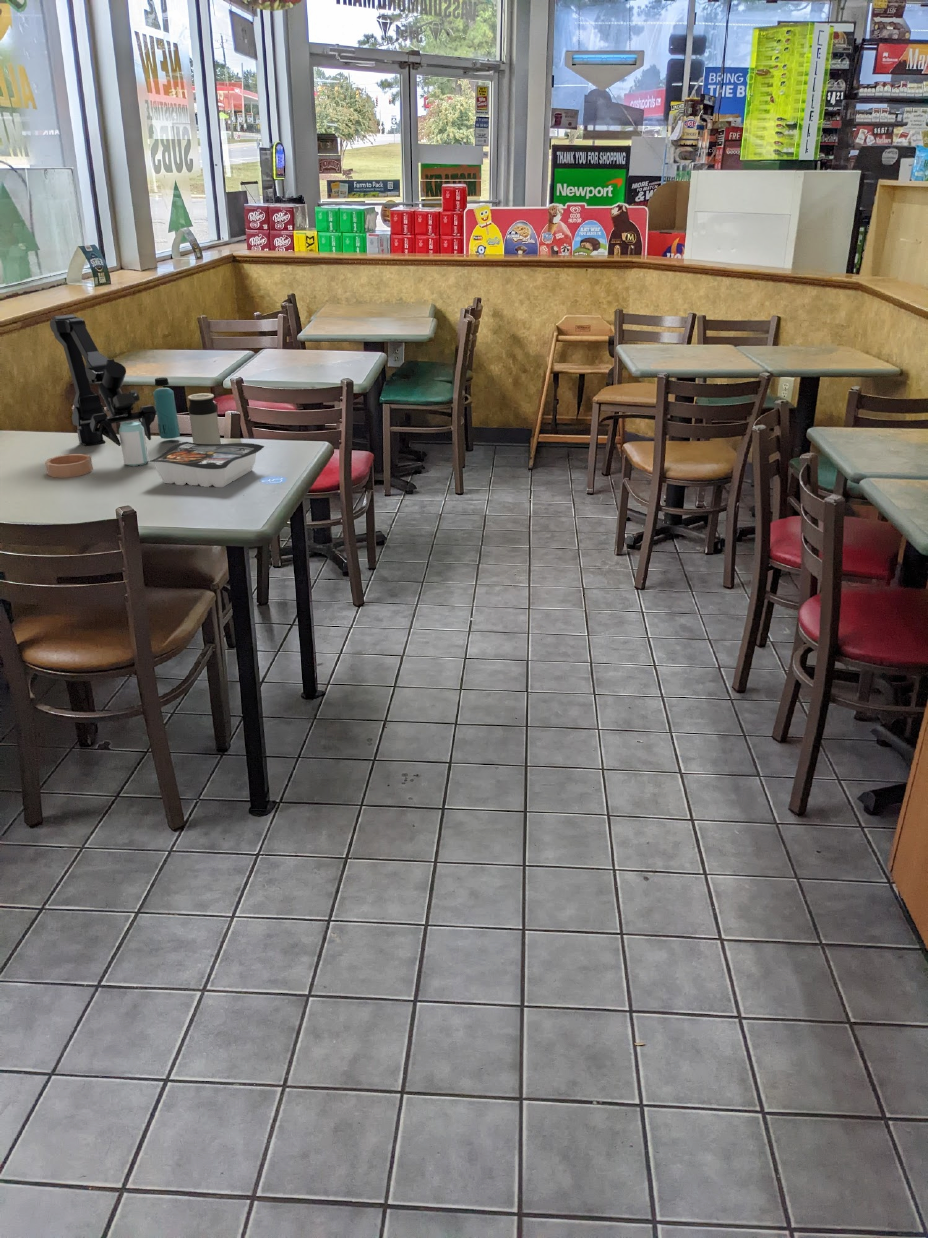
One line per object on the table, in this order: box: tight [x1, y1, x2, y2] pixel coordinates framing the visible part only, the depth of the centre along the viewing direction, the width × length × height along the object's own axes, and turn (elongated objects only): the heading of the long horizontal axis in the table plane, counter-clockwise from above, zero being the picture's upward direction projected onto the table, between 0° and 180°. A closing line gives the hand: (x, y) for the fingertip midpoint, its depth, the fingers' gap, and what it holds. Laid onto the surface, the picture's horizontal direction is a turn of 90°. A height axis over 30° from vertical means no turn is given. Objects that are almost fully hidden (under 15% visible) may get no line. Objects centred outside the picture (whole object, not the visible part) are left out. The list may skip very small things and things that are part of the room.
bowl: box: [44, 453, 94, 479], centre depth 283 cm, size 12×12×4 cm
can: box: [118, 420, 150, 467], centre depth 287 cm, size 7×7×12 cm
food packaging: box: [147, 441, 265, 488], centre depth 274 cm, size 25×8×23 cm
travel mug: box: [187, 392, 222, 444], centre depth 292 cm, size 8×8×18 cm
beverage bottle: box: [152, 376, 181, 440], centre depth 309 cm, size 6×7×20 cm
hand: (135, 442), depth 286 cm, fingers open, 9 cm apart
